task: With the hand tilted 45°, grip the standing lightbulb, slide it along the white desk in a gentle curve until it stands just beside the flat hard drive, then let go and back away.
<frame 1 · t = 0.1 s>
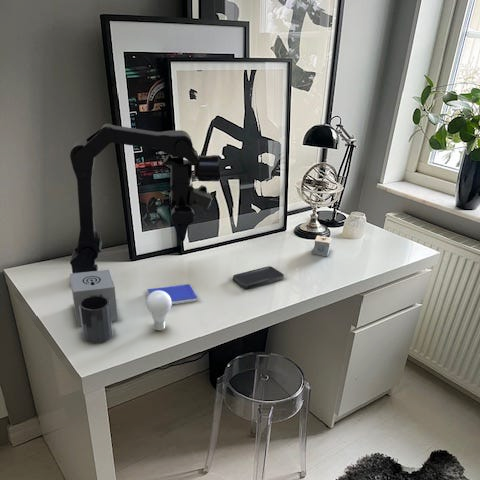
hand: (181, 234, 144), 15 cm above the table, tool pointing down, fingers open, 9 cm apart
icon cube: (95, 314, 133), on the table
pen cup: (98, 335, 124), on the table
phone: (258, 279, 155), on the table
hard drive: (172, 298, 143), on the table
dice cube: (321, 253, 175), on the table
lightbulb: (159, 329, 128), on the table
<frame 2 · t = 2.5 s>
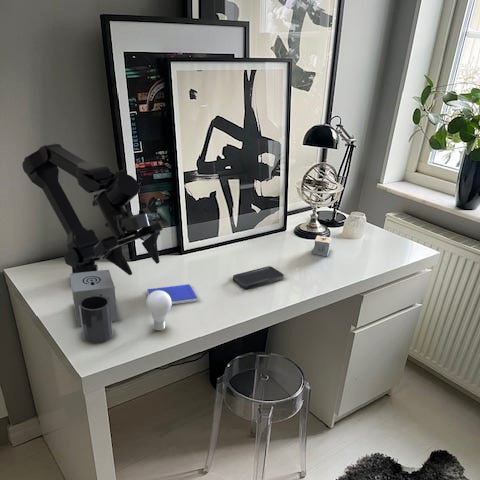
hand: (145, 268, 127), 13 cm above the table, tool tilted 40°, fingers open, 9 cm apart
nothing on the table moved.
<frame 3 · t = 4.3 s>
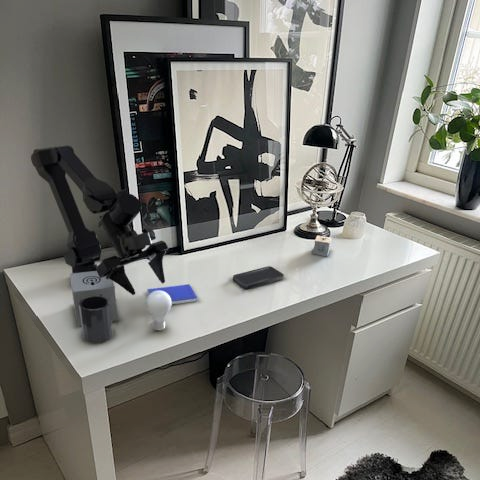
hand: (149, 288, 125), 10 cm above the table, tool tilted 45°, fingers open, 9 cm apart
nothing on the table moved.
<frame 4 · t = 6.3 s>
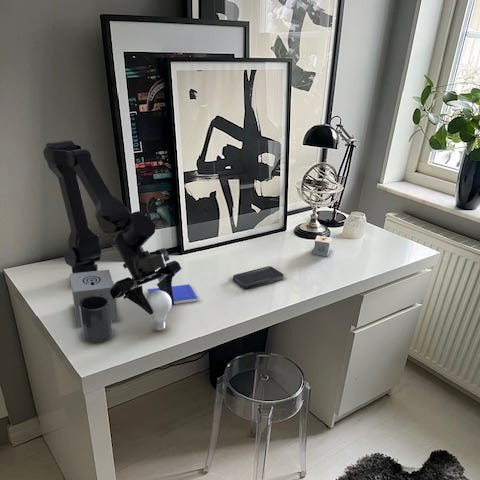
hand: (162, 309, 124), 7 cm above the table, tool tilted 45°, fingers closed on lightbulb, 6 cm apart
lightbulb: (159, 329, 128), on the table, touching gripper
everything else where it was.
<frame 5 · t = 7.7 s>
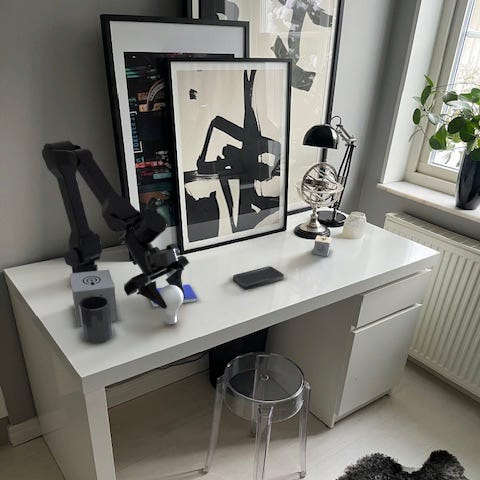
hand: (174, 303, 127), 7 cm above the table, tool tilted 45°, fingers closed on lightbulb, 6 cm apart
lightbulb: (171, 323, 131), on the table, touching gripper
everything else where it was.
when the fingers open (7 cm above the table, at t = 9.5 s): lightbulb stays where it is, on the table.
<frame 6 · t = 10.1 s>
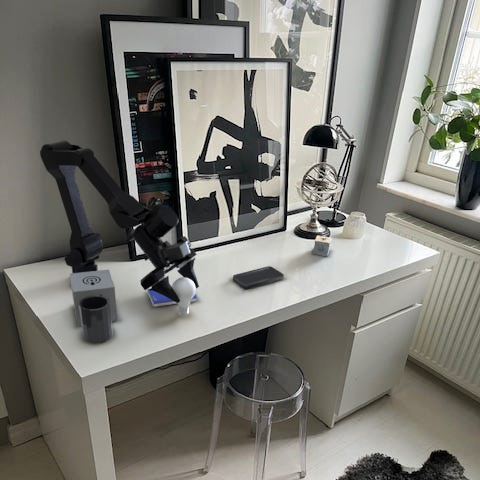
hand: (188, 294, 131), 7 cm above the table, tool tilted 45°, fingers open, 9 cm apart
lightbulb: (183, 315, 135), on the table
everything else where it was.
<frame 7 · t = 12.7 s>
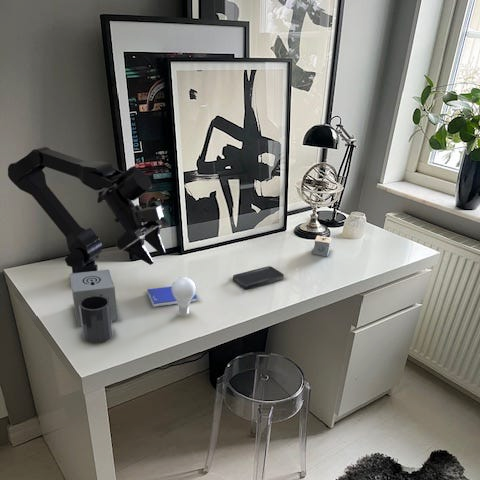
hand: (158, 258, 134), 13 cm above the table, tool tilted 40°, fingers open, 9 cm apart
nothing on the table moved.
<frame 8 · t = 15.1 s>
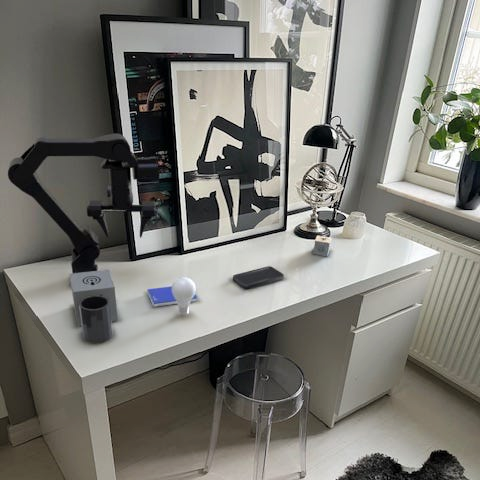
hand: (124, 237, 144), 13 cm above the table, tool pointing down, fingers open, 9 cm apart
nothing on the table moved.
at the end: lightbulb 9.9 cm from the hard drive (horizontally); lightbulb tilted 0°; the gripper is holding nothing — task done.
